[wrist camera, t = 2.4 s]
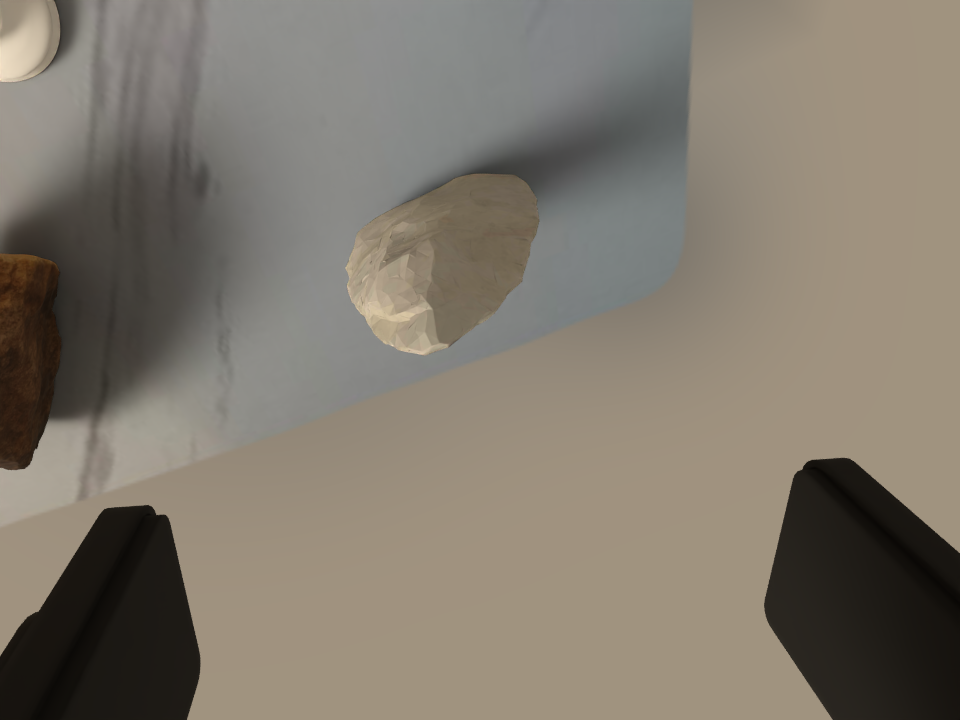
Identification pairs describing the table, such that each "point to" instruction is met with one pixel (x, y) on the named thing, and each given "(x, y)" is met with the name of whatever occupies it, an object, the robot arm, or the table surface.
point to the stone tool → (443, 260)
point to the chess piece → (27, 37)
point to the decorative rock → (26, 354)
